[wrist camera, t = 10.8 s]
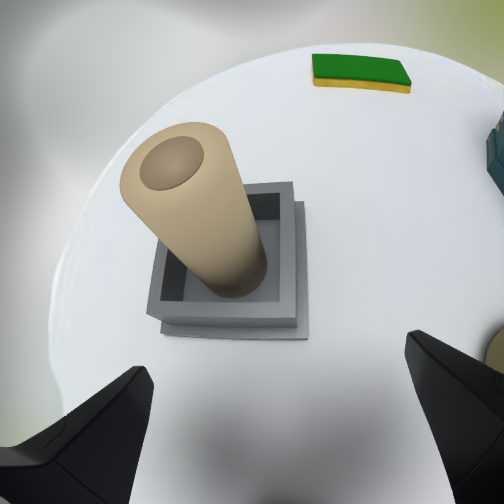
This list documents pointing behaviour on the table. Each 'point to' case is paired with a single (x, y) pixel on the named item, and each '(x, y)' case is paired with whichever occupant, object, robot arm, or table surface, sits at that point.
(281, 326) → the square tray
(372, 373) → the table surface
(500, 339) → the squeeze bottle
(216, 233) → the paper roll
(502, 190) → the dark green canister
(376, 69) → the dish sponge
